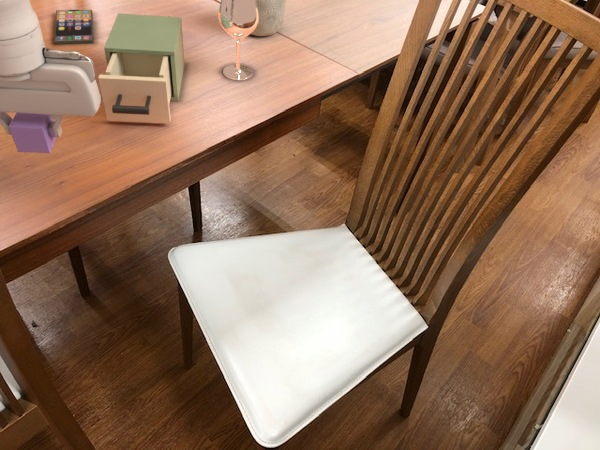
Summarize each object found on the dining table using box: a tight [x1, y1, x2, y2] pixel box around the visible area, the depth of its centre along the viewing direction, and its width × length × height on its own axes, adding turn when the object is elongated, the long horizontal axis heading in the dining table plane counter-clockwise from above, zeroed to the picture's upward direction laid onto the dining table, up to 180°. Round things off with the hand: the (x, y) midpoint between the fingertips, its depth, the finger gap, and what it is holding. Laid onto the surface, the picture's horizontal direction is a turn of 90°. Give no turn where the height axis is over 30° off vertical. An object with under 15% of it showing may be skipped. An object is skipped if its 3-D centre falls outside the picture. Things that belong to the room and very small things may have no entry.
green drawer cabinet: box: [103, 12, 186, 102], centre depth 102 cm, size 15×13×11 cm
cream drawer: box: [97, 52, 173, 124], centre depth 94 cm, size 18×11×9 cm, turn 4°
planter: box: [250, 0, 287, 37], centre depth 123 cm, size 12×12×11 cm
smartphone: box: [53, 9, 94, 45], centre depth 117 cm, size 8×15×1 cm, turn 16°
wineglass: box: [217, 0, 259, 81], centre depth 105 cm, size 8×8×18 cm
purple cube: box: [9, 113, 58, 154], centre depth 75 cm, size 4×4×4 cm
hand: (35, 133), depth 75 cm, fingers closed on purple cube, 4 cm apart
